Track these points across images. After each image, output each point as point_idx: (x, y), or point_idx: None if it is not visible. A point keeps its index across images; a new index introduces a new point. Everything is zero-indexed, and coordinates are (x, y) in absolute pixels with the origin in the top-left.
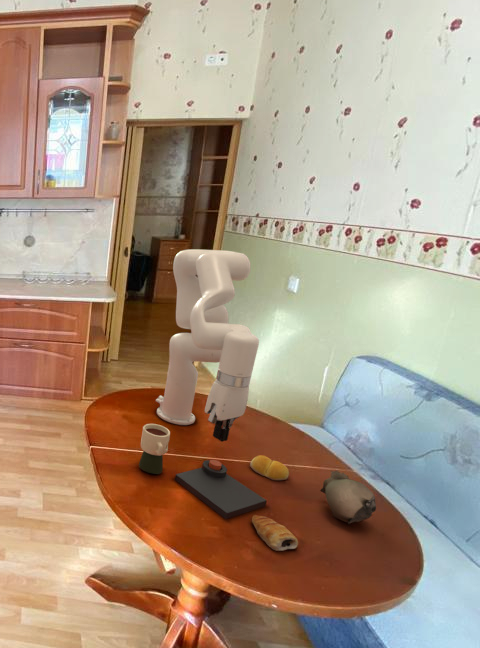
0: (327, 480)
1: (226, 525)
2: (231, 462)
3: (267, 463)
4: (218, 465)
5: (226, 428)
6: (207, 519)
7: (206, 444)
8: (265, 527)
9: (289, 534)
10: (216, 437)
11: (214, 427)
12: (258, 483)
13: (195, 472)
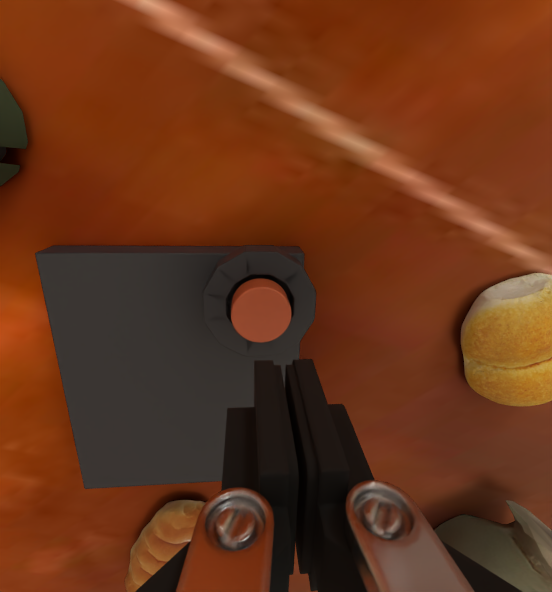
0: (542, 562)
1: (76, 483)
2: (446, 232)
3: (523, 361)
4: (254, 337)
5: (301, 570)
6: (28, 452)
7: (501, 46)
8: (133, 580)
9: None
10: (254, 396)
11: (257, 424)
12: (397, 370)
13: (156, 276)
